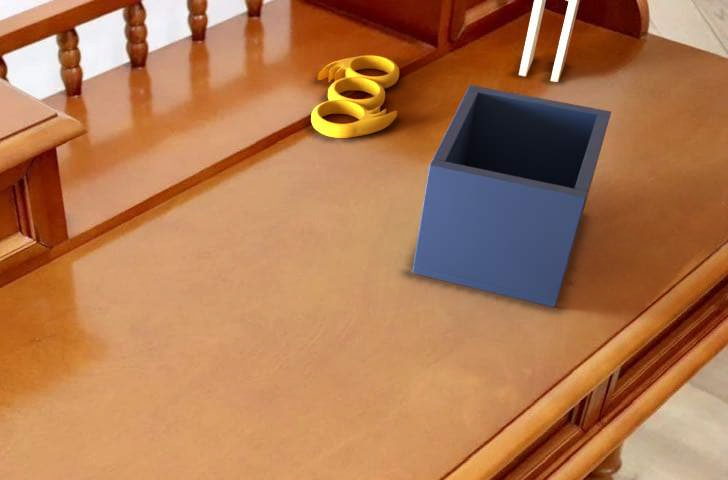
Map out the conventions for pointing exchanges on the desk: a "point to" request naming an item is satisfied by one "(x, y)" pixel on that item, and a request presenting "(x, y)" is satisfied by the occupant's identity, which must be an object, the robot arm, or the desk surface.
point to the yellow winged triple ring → (360, 108)
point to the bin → (509, 193)
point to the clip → (534, 31)
